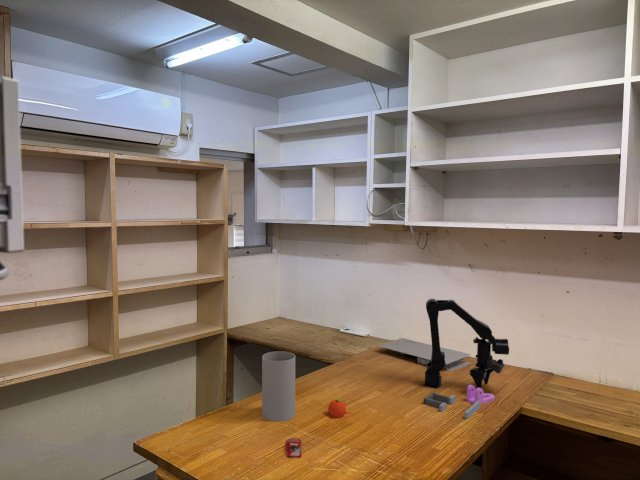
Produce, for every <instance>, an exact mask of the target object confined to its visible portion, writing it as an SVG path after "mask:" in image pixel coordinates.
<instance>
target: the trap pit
mask: <svg viewBox="0 0 640 480" xmlns="http://www.w3.org/2000/svg"><path fill="white" fill-rule="evenodd" d="M450 397H451V396H449V395H444V394H440V393H435V392H431V393H429V394H428V395H427V396H425V397H423V405H426V406H429V407H430V406H431V407H434V408H437V409H439V405H441V404H442V403H443V402H444V403H446V404H449V398H450ZM449 405H450V404H449Z"/></svg>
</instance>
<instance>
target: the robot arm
mask: <svg viewBox="0 0 640 480" xmlns="http://www.w3.org/2000/svg"><path fill="white" fill-rule="evenodd" d="M425 302H426V303H425V309H426V313H427V316H428V320H429V325H430V326H429V328H430V338H431V345H432V355H431V361H430V362H429V363H427V364H426V365H425V366H426V370H425V371H424V374H425V375H424V383H423V386H425V387H430V388H433V389H437V388H439V387H440V386H442V385H443V383H442V375H441V371H442V369H443V370H444V369H445V368H444V364H446V363H445V354H444V352H441V350H440V347H441V344H440V333H439V322H438V321H439V315H440V314H439V312H444V311H449V310H450V311H451V312H453V313H454V314H455V315H457V316H458V317H459V318H460V319H461V320H463V321H464V322H465V323H466V324H467V325H469V326H470V327H471V328H472V330H474V332H475V333H476V334H477V335H478V336H476V337H475V338H474V339H473V340H472V341H473V344H476V345H477V347H476V355H475V358H476V362H475V364H474V365H475V367H473V368H471V369H470V370H469V376H470V377H472V380H473V382H474V383H475V386H476V389H477V388H481V389H482V386H483V382H484V384H485V385H488V383H489V380H490V378H491V373H492V372H495V373H497V374H501V372H502V371H503V369H504V367H505V364H504V360H503V359H501V358H499V359H493V355H492V353H494V355H505V356H506V355H507V356H509V353H510V345H509V340H508V339H507V338H496V337H495V336H494V335H493V331H492V329H491V327H490V326H489V325H488V324H486V323H484V322H483V321H481V320H478V319H477V318H475V317H474V316H473V315H471V314H470V313H469V312H468V311H467V310H465V308H463V307H461V306H460V304H458V303H457V302H456V301H455V300H453V299H435V298H429V299H427V301H425Z"/></svg>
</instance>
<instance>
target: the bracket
mask: <svg viewBox="0 0 640 480" xmlns="http://www.w3.org/2000/svg"><path fill="white" fill-rule="evenodd" d="M475 386H476V385H472V384H469V385H468V386H467V387H466V402H469V403H471V404H472V405H473V404H474V403H475V402H476V401H479V402H480V404H481V405H483V403H484V404H487V403H490V402H493V401H495V395H494V394H492V393H488V392H487V393H486V392H484V389H483V388H482V387H481V388H477V387H475Z"/></svg>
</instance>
